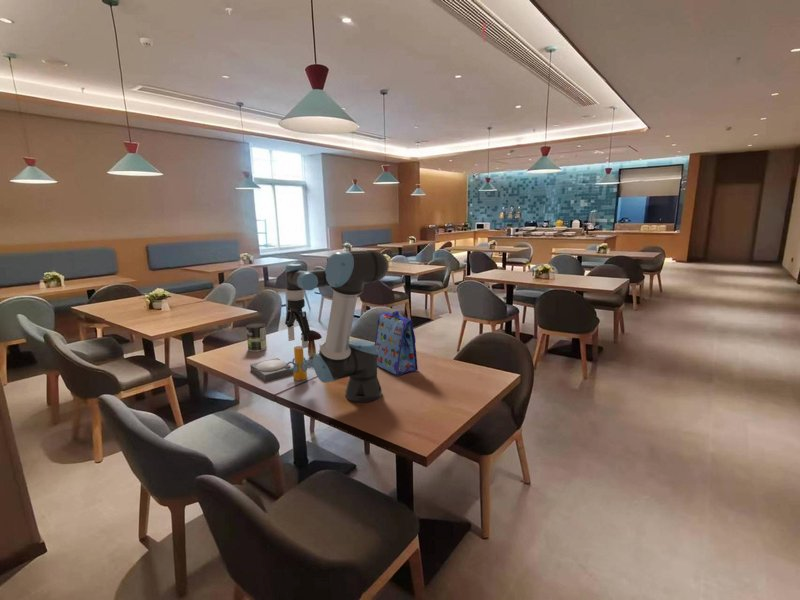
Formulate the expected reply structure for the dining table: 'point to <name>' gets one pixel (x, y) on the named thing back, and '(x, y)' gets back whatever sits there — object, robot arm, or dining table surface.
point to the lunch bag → (395, 344)
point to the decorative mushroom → (312, 342)
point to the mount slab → (271, 369)
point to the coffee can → (256, 337)
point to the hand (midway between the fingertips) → (298, 343)
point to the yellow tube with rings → (299, 364)
